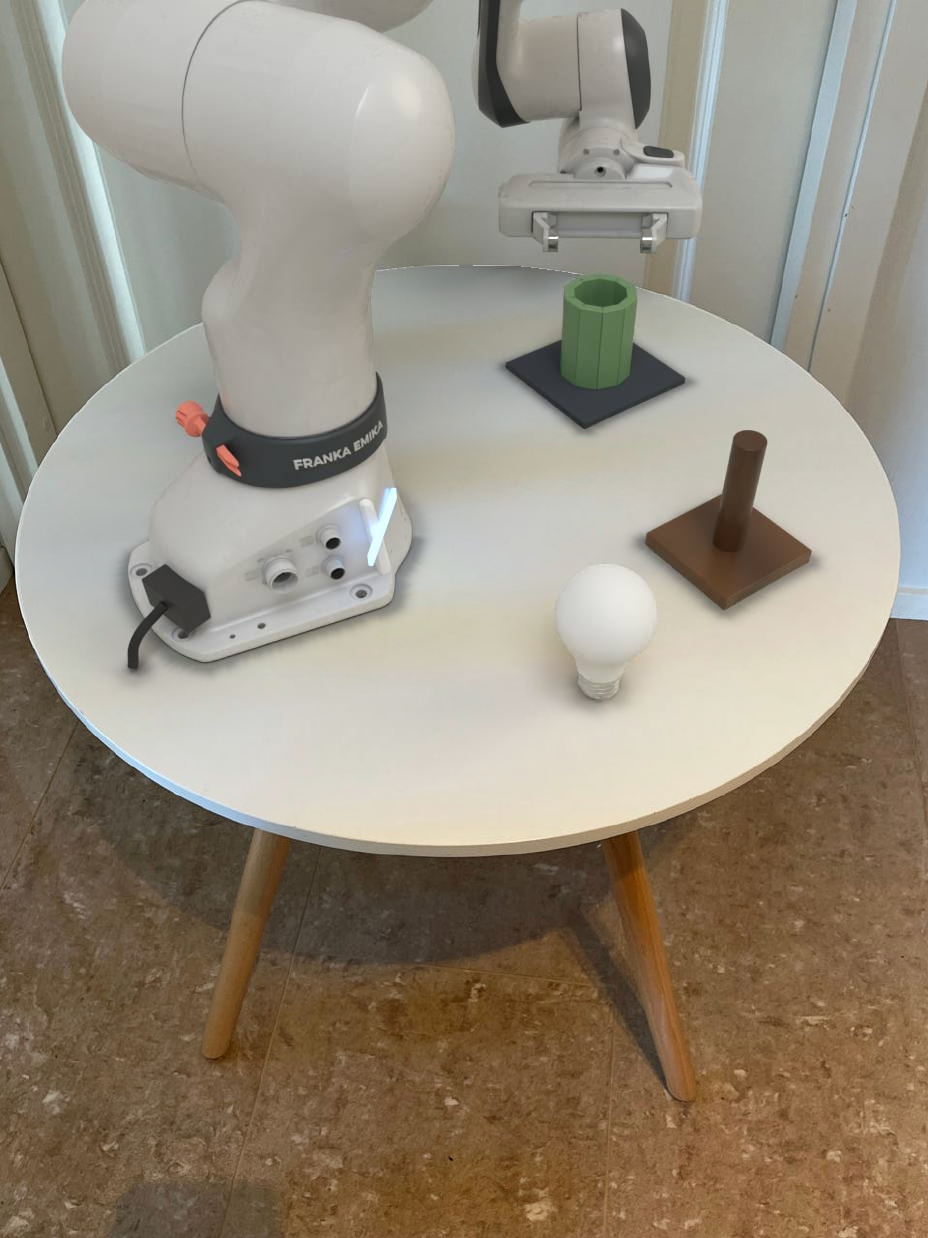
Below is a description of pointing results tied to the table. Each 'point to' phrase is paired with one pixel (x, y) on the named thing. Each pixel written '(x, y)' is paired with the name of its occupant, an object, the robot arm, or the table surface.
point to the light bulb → (605, 624)
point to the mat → (589, 403)
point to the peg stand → (730, 534)
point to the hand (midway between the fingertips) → (599, 245)
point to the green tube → (597, 330)
